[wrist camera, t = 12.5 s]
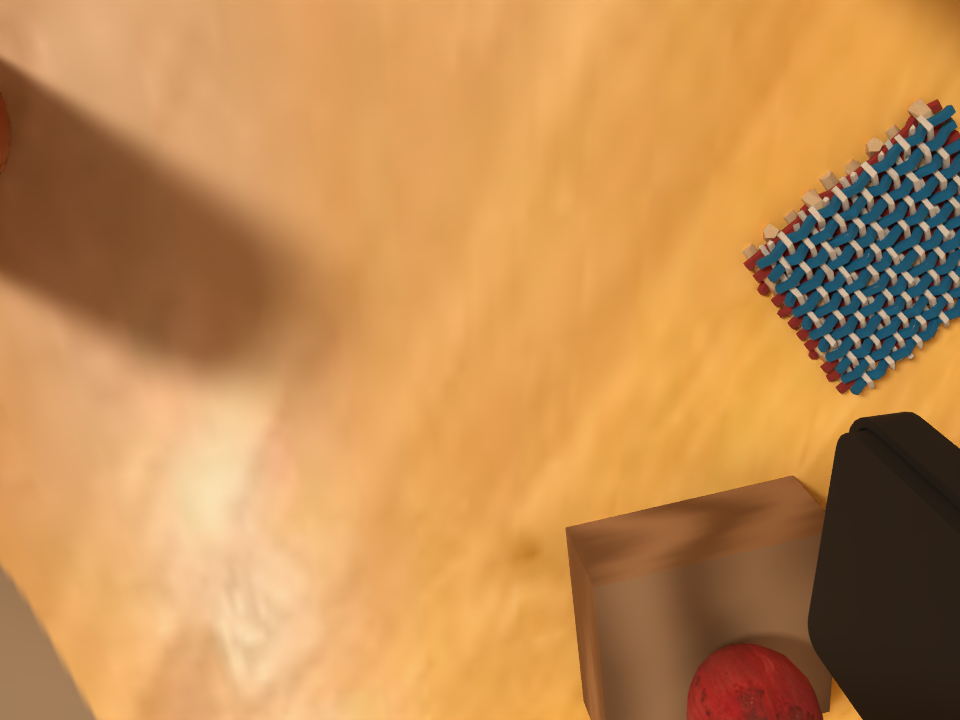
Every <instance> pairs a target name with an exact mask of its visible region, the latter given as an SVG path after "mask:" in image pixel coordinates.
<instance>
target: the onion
mask: <svg viewBox="0 0 960 720" xmlns="http://www.w3.org/2000/svg"><path fill="white" fill-rule="evenodd" d="M686 716H687V720H823V716H822V712H821V709H820V706H819V702H818V699H817V696H816V693H815V691H814V689H813V687H812V685H811V683H810V681H809V679H808V678H807V677H806V676H805V675H804V674H803V673H802V672H801V671H800V669H799V668H798V667H797V666H796V665H795V664H793V663H792V662H791V661H790V660H789V659H788V658H787V657H786V656H785V655H783V654H781V653H779V652H777V651H774V650H772V649H770V648H766V647H763V646H760V645H757V644H735V645H728V646H725V647H723V648H721V649H719V650H717V651H714V652H712V653H711V654H710V655H709V656H708V657H707V658H706V659H705V660H704V661H703V662H702V663H701V664H700V666H699V667H698V669H697V671H696V673H695V675H694V677H693V679H692V682H691V684H690V687H689V692H688V697H687V714H686Z"/></svg>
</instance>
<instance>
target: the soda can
mask: <svg viewBox="0 0 960 720" xmlns="http://www.w3.org/2000/svg"><path fill="white" fill-rule="evenodd" d="M9 146H10V125H9V119H8V115H7V111H6V106H5V102H4V100H3V98H2V95H1V93H0V175H1V173H2V171H3V169H4V166H5V164H6V161H7V156H8V151H9Z"/></svg>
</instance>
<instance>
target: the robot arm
mask: <svg viewBox="0 0 960 720" xmlns="http://www.w3.org/2000/svg"><path fill="white" fill-rule="evenodd" d="M808 633H809V637H810V641H811V643H812V646H813V648H814V650H815V652H816V654H817V655H818V657H819V658H820V660H821V661H822V662H823V664H824V665H825V667H826V668H827V670H828V671H829V672H830V674H831V675H832V677H833V678H834V679H835V681H836V682H837V684H838V685H839V687H840V688H841V689H842V691H843V692H844V694H845V695H846V697H847V698H848V699H849V701H850V702H851V704H852V705H853V707H854V708H855V709H856V711H857V712H858V714H859V715H860V716H861V718H862V719H863V720H960V449H959V448H958V447H957V446H956V445H954V444H953V443H952V442H951V441H949V440H948V439H947V438H946V437H945V436H943V435H942V434H941V433H940V432H938V431H937V430H936V429H935V428H933V427H932V426H931V425H930V424H929V423H927V422H926V421H925V420H924V419H922V418H921V417H920V416H918V415H916V414H914V413H913V412H900V413H893V414H885V415H878V416H870V417H863V418H859V419H858V420H856V421H854V423H853V424H852V426H851V427H850V430H849V433H845V434H843V435H841V437H840V438H839V440H838V442H837V446H836V451H835V457H834V463H833V469H832V475H831V481H830V487H829V493H828V499H827V505H826V511H825V517H824V523H823V529H822V535H821V541H820V547H819V554H818V560H817V566H816V572H815V578H814V584H813V590H812V596H811V602H810V608H809V614H808Z"/></svg>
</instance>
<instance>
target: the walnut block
mask: <svg viewBox="0 0 960 720" xmlns="http://www.w3.org/2000/svg"><path fill="white" fill-rule="evenodd" d="M824 517H825V510H824V509H823V508H822V507H821V506H820V505H819V503H818V502H817V501H816V500H815V499H814V498H813V497H812V496H811V495H810V494H809V493H808V491H807V490H806V489H805V488H804V487H803V486H802V485H801V484H800V483H799V482H798V481H797V479H796V478H795V477H794V476H789V477H785V478H780V479H776V480H772V481H767V482H763V483H758V484H754V485H750V486H745V487H741V488H737V489H732V490H728V491H724V492H719V493H715V494H710V495H706V496H702V497H697V498H693V499H689V500H684V501H680V502H676V503H671V504H667V505H662V506H658V507H654V508H649V509H645V510H641V511H636V512H632V513H628V514H623V515H619V516H614V517H610V518H606V519H601V520H597V521H593V522H588V523H584V524H580V525H575V526H571V527H566V537H567V546H568V556H569V565H570V575H571V584H572V594H573V603H574V613H575V622H576V632H577V641H578V651H579V660H580V670H581V680H582V689H583V699H584V703H585V706H586V708H587V711H588V713H589V716H590V718H591V720H687V716H686V714H687V697H688V692H689V687H690V684H691V682H692V679H693V677H694V675H695V673H696V671H697V669H698V667H699V666H700V664H701V663H702V662H703V661H704V660H705V659H706V658H707V657H708V656H709V655H710V654H711V653H712V652H714V651H717V650H719V649H721V648H723V647H725V646H728V645H735V644H757V645H760V646H763V647H766V648H770V649H772V650H774V651H777V652H779V653H781V654H783V655H785V656H786V657H787V658H788V659H789V660H790V661H791V662H792V663H793V664H795V665H796V666H797V667H798V668H799V669H800V671H801V672H802V673H803V674H804V675H805V676H806V677H807V678H808V679H809V681H810V683H811V685H812V687H813V689H814V691H815V693H816V696H817V699H818V702H819V706H820V709H821V712H822V713H826V712H829V710H830V695H831V680H832V675H831V674H830V672H829V671H828V670H827V668H826V667H825V665H824V664H823V662H822V661H821V660H820V658H819V657H818V655H817V654H816V652H815V650H814V648H813V646H812V643H811V641H810V637H809V633H808V614H809V608H810V602H811V596H812V590H813V584H814V578H815V572H816V566H817V560H818V554H819V547H820V541H821V535H822V529H823V523H824Z"/></svg>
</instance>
